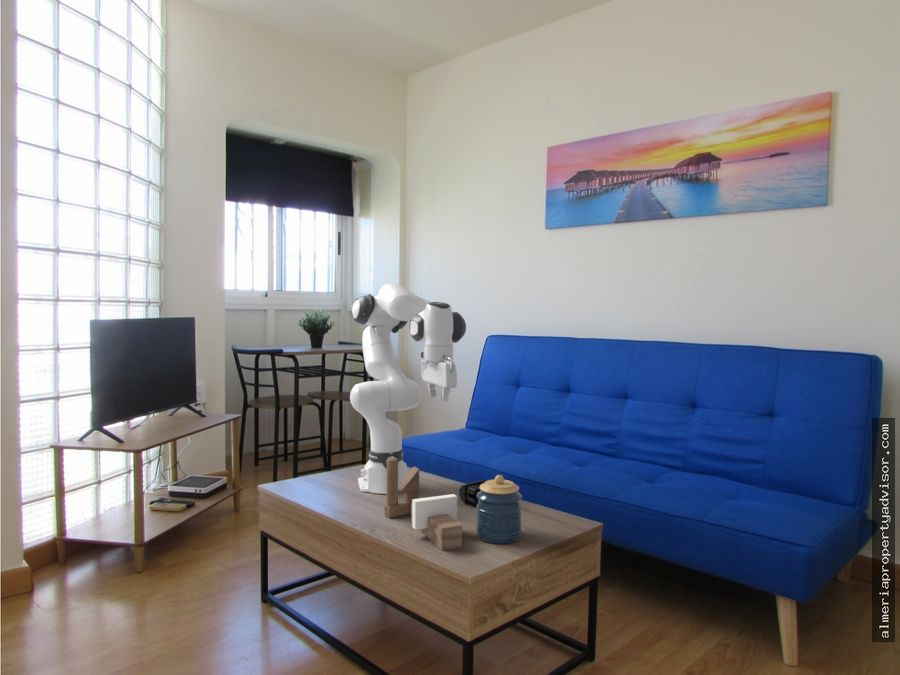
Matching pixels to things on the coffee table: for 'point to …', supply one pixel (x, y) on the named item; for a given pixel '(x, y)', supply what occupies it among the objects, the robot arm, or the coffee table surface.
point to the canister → (499, 511)
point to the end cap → (470, 493)
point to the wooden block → (400, 490)
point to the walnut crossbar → (443, 531)
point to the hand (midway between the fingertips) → (438, 399)
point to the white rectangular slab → (432, 509)
